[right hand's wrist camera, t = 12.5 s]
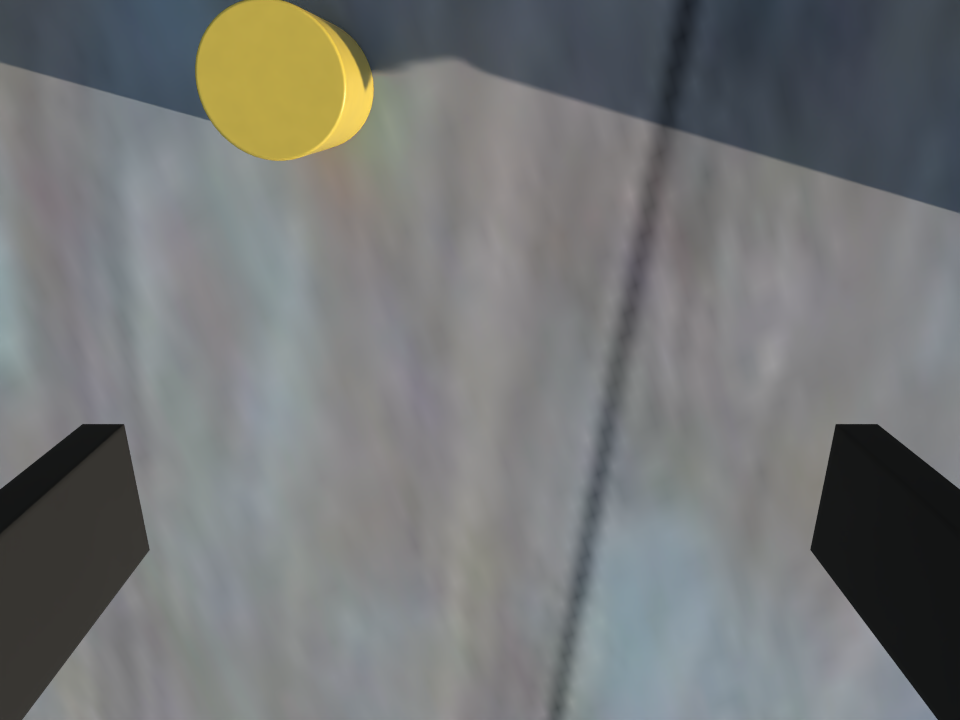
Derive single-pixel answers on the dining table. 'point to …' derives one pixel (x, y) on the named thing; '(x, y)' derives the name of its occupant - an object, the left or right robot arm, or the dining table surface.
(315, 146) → the canister
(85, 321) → the dining table surface
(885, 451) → the right robot arm
